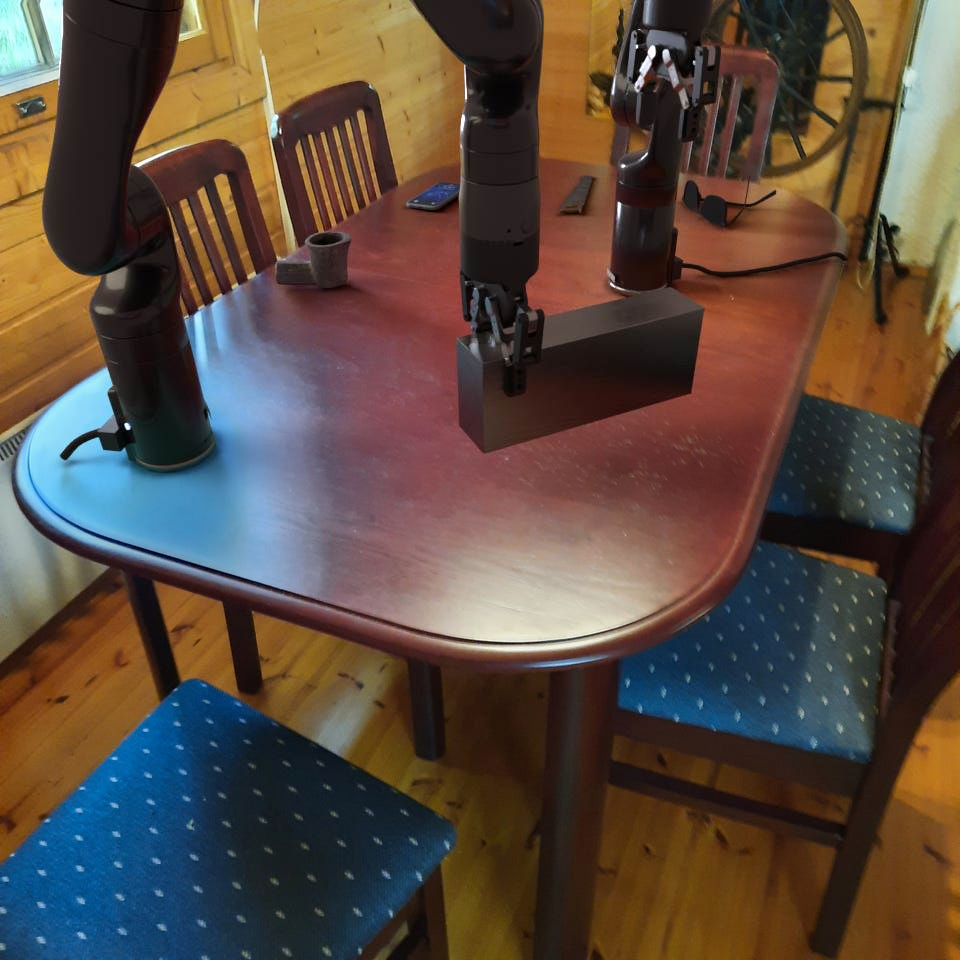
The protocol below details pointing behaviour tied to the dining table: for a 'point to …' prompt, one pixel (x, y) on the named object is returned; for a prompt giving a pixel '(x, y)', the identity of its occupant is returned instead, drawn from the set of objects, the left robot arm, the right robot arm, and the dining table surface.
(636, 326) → the box
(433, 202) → the smartphone
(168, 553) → the dining table surface
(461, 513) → the dining table surface
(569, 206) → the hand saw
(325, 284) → the pipe
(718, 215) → the sunglasses
